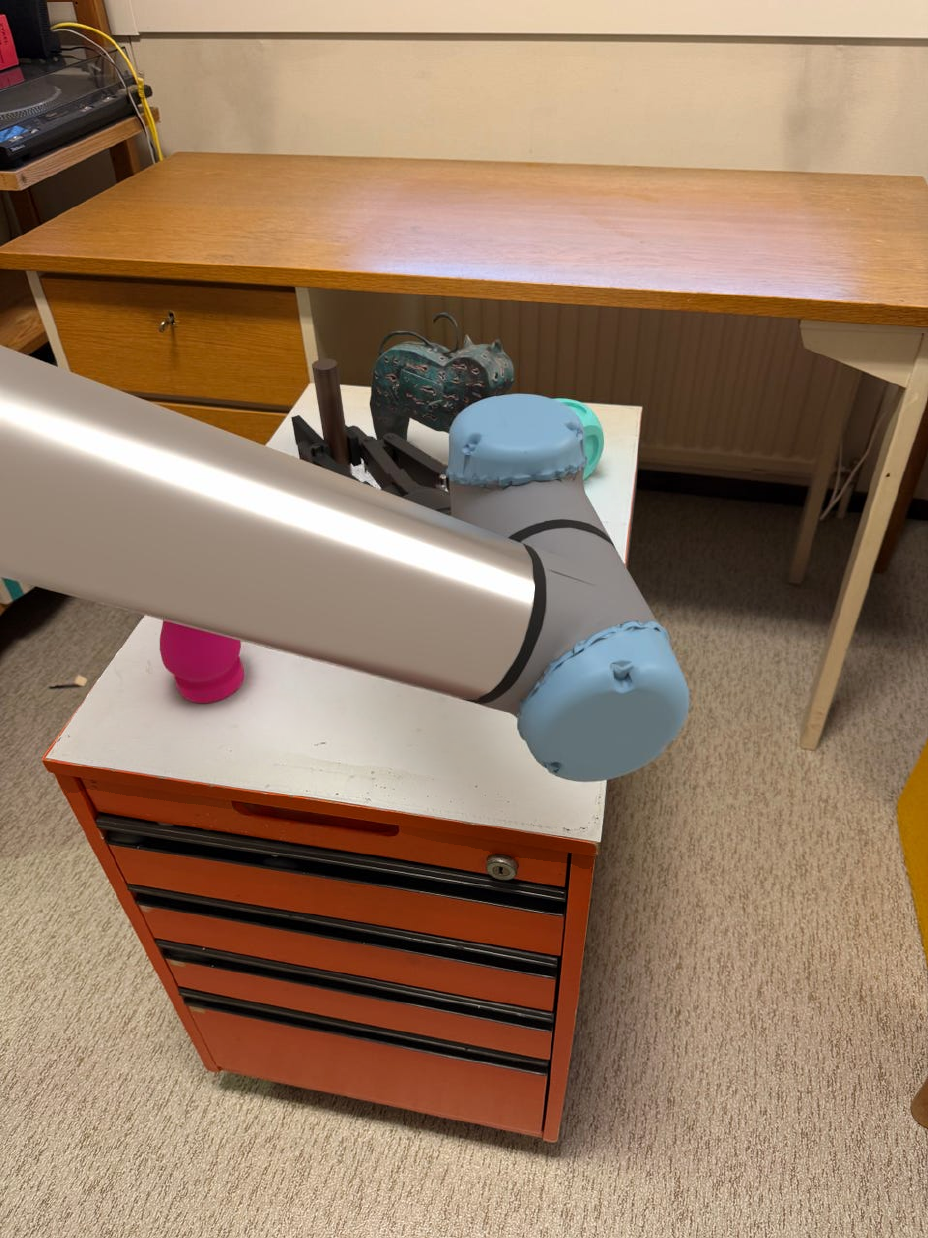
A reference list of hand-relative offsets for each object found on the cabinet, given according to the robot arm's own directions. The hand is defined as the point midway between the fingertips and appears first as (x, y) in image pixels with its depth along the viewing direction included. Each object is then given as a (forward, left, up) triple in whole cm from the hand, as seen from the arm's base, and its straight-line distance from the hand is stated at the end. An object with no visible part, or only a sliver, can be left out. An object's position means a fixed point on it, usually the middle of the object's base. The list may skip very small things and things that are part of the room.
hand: (311, 425), depth 79 cm
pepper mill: (-14, -8, -21) cm, 26 cm away
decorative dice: (+30, +18, -21) cm, 41 cm away
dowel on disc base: (+2, -5, -10) cm, 11 cm away
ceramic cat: (+16, +24, -21) cm, 36 cm away
